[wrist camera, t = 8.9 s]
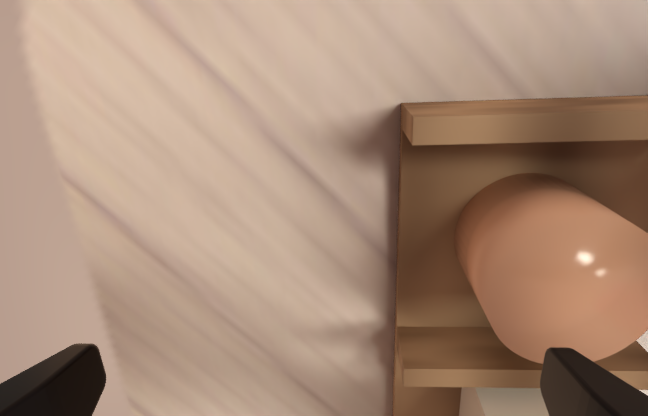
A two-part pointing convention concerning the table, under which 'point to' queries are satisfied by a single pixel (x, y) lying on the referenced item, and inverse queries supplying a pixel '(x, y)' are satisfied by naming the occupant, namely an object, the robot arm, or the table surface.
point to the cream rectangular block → (502, 402)
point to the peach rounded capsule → (554, 267)
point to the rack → (450, 200)
